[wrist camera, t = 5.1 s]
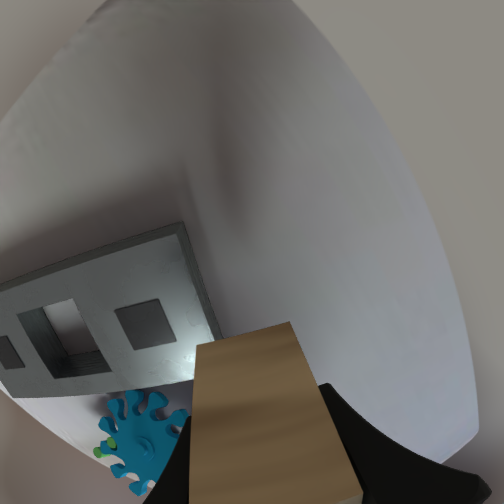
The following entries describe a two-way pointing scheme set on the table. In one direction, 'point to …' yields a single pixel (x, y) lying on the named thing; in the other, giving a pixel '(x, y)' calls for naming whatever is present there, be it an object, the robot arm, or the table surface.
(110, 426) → the gear
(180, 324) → the grey holed base
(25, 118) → the table surface
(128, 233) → the table surface
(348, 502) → the peg
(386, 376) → the table surface
